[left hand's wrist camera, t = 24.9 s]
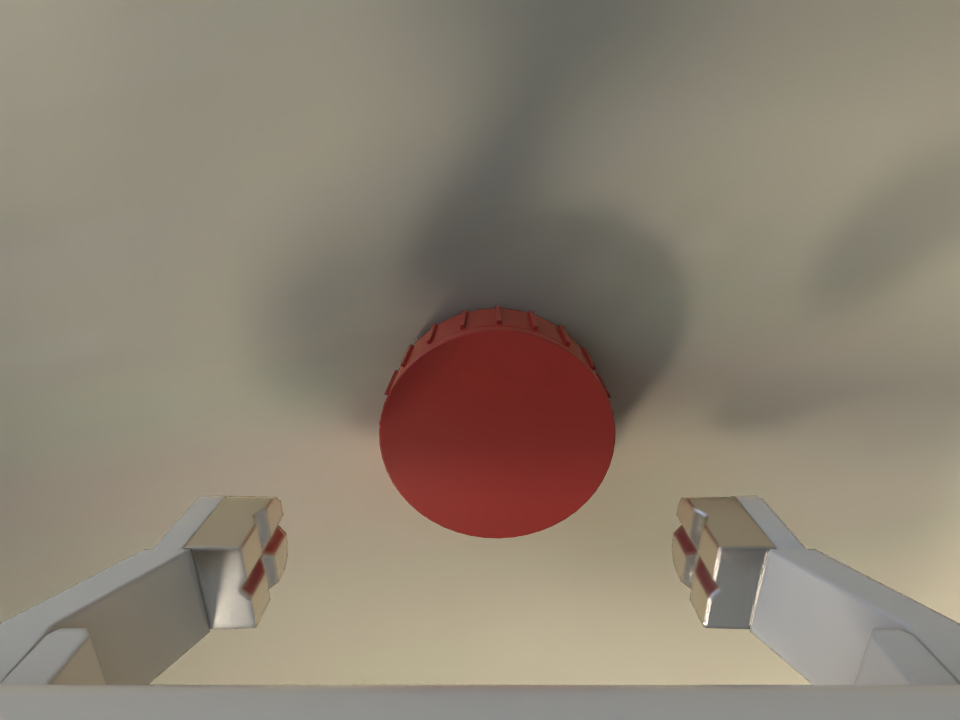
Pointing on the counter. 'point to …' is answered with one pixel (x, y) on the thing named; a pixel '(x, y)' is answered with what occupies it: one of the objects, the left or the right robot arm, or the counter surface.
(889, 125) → the counter surface
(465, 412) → the lid
